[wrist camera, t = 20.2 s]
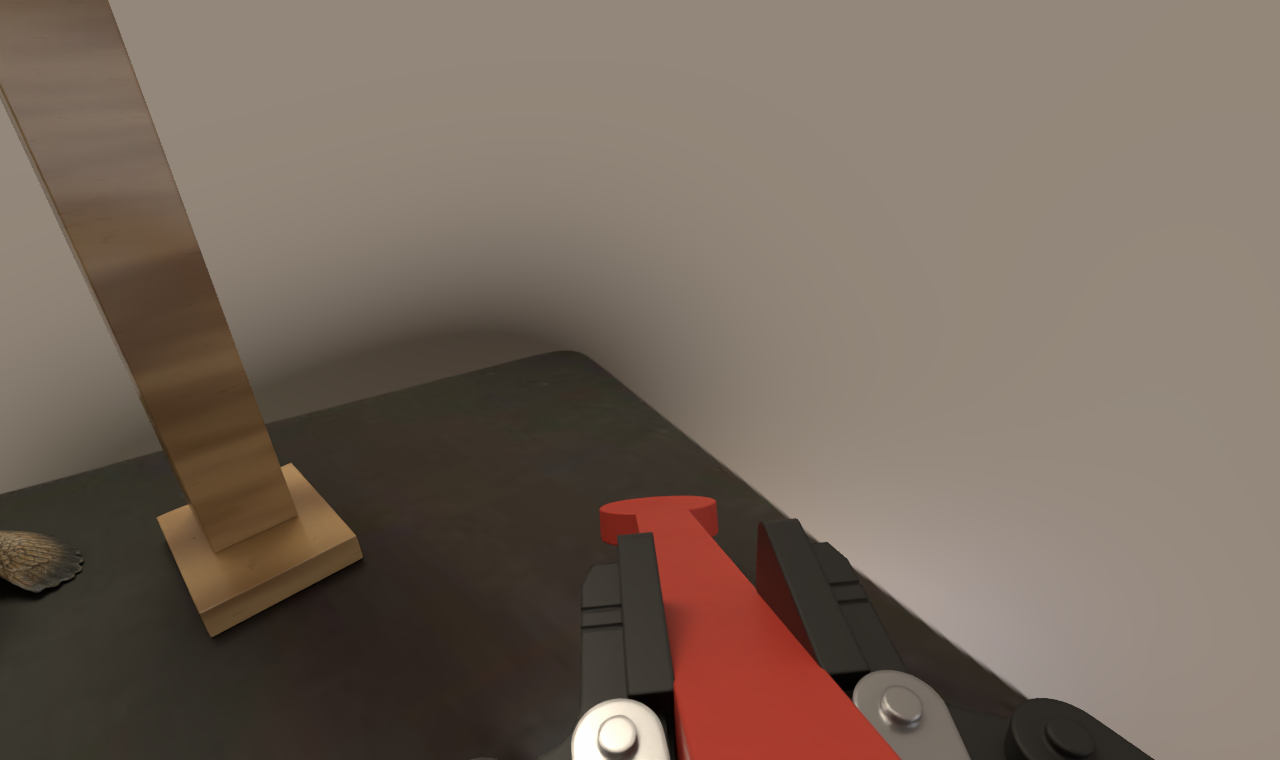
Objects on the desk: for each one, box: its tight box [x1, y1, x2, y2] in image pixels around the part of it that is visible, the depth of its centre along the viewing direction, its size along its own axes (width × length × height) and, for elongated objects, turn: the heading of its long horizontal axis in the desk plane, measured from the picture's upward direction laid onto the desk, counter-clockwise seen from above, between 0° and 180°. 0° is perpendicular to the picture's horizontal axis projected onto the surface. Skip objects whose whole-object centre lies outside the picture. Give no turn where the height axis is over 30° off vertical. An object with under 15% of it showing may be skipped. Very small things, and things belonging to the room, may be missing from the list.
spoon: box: [600, 496, 902, 760], centre depth 18 cm, size 25×5×1 cm
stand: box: [0, 0, 363, 637], centre depth 26 cm, size 10×7×32 cm
